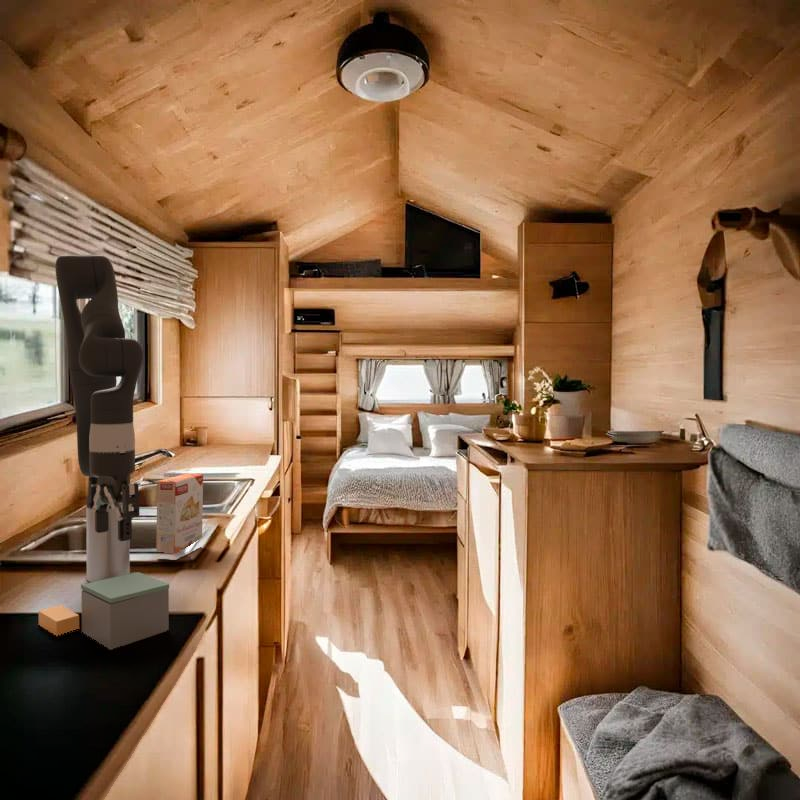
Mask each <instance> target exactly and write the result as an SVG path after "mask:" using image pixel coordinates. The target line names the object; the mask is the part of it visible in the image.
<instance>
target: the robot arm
mask: <svg viewBox="0 0 800 800" xmlns="http://www.w3.org/2000/svg"><path fill="white" fill-rule="evenodd" d="M55 277H56V279H55V280H56V283H57V284H56V285H57V290H58V294H59V300H60V301H59V302H60V306H61V312H62V317H63V321H64V322H63V323H64V327H65V328H64V329H65V337H66V346H67V354H68V355H67V357H68V367H69V376H70V383H71V390H72V395H73V403H74V410H75V419H76V440H77V441H76V442H77V461H78V466H79V470H80V472H81V474H82V475H83V476H85V477H88V480H87V481H88V488H87V489H88V491H87V496H86V499H85V500H86V501H85V502H86V503H85V506H86V509H85V511H86V515H85V516H86V517H85V518H86V519H85V520H86V539H85V540H86V581H88V583H90V582H95V581H99V580H104V579H108V578H113V577H117V576H122V575H126V574H131V572H130V571H131V567H130V565H131V564H130V563H131V561H130V560H131V558H130V557H131V556H130V552H131V551H130V548H131V547H130V544H131V540H132V537H133V533H132V532H133V531H132V529H133V526H132V525H133V522H132V521H133V519H135V518H136V517H137V518H138V517H140V513H141V512H140V494H139V492H140V491H139V484H138V482H134V483H131V475H132V474H133V473H135V472H136V434H135V427H134V400H135V391H136V388H137V383H138V380H139V376H140V373H141V370H142V366H143V362H144V356H145V355H144V351H143V350H144V349H143V347H142V345H141V344H140V342H138V341H137V340H136V339H134V338H129V337H126V330H125V327H124V324H123V321H122V318H121V315H120V314H121V313H120V308H119V298H118V297H119V295H118V288H117V280H116V274H115V269H114V266H113V264H112V261H111V260H110V259H109V257H107V256H104V255H100V254H62V255H59V256H57V258H56V261H55ZM86 299H87V300H88V299H89V300H88V302H87V303H86V304H85V305H84V307H83V308H82V310H80V308H79V306H78V300H86ZM81 311H82V312H81ZM117 377H120V381H119V383H117Z"/></svg>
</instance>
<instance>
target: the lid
mask: <svg viewBox="0 0 800 800" xmlns="http://www.w3.org/2000/svg"><path fill="white" fill-rule="evenodd" d="M80 589H81V591H82V590H84V591H87V592H89V593H91V594H93V595H95V596H97V597H99V598H101V599H103V600H105V601H107V602H109V603H114V602H118V601H122V600H126V599H130V598H134V597H138V596H142V595H146V594H149V593H153V592H157V591H161V590H165V589H170V583H168V582H166V581H165V582H164V581H162V580H160V579H157V578H155V577H152V576H150V575H148V574H144V573H142V572H139V571H137V572H135V571H134V572H130V574H126V575H122V576H117V577H113V578H108V579H104V580H99V581H95V582H87V583H82V584H80Z"/></svg>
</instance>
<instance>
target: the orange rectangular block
mask: <svg viewBox="0 0 800 800" xmlns="http://www.w3.org/2000/svg"><path fill="white" fill-rule="evenodd" d="M39 625H40V627H42V629H45V630H46V631H47V630H48V631H47V632H49V633H51V634H52V633H53V634H52V635H54V636H55V635H56V637H59V636H62V635H65V634H64V633H66V634H68V633H67V632H69V633H71V632H70V631H72V632H74V631H73V630H76V629H79V630H80V615H79V614H78V613H76V612H74V611H73V610H71V609H69V608H67V607H65V606H64V605H61V604H60V605H59V604H58V605H56V606H52V607H48V608H44V609H40V610H38V626H39ZM76 631H77V630H76ZM61 634H62V635H61ZM58 635H59V636H58Z"/></svg>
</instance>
